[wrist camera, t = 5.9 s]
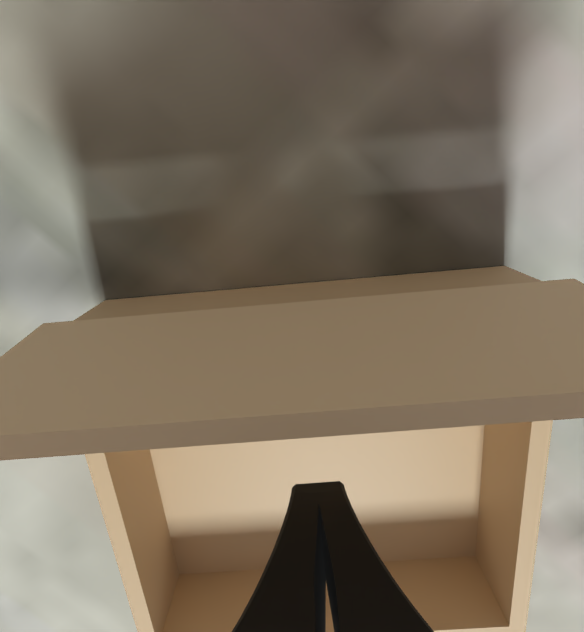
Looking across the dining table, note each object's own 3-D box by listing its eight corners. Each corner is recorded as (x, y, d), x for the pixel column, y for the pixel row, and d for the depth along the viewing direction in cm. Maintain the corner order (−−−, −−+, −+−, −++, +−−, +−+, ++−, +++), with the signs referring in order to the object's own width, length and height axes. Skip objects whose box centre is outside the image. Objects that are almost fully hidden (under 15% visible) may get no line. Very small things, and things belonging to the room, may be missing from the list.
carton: (504, 265, 14) (569, 292, 11) (482, 553, 18) (525, 637, 15) (105, 300, 15) (49, 336, 11) (172, 572, 19) (145, 657, 15)
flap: (570, 297, 10) (574, 278, 10) (749, 405, 6) (763, 378, 6) (49, 340, 11) (43, 323, 11) (-96, 467, 7) (-111, 443, 7)
